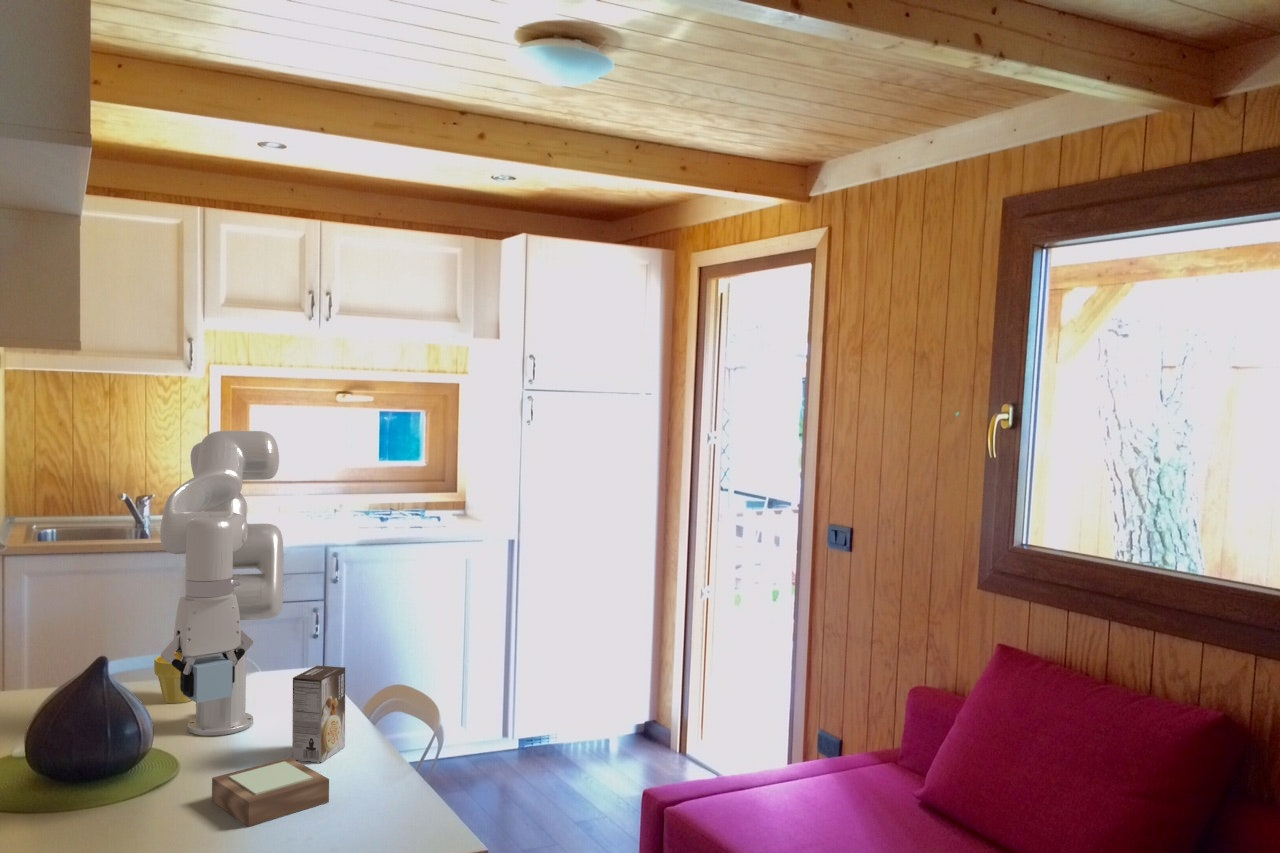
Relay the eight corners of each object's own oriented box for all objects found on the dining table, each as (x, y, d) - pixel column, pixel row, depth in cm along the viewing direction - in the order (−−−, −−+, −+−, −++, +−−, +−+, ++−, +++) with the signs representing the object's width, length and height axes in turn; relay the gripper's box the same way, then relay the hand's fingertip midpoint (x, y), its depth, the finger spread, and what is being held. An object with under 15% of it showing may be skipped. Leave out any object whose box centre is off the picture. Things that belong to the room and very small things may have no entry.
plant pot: (152, 708, 214) (152, 664, 214) (155, 695, 223) (155, 652, 223) (204, 703, 218) (204, 660, 218) (205, 690, 228) (205, 649, 227)
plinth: (211, 800, 166) (212, 775, 166) (289, 779, 177) (290, 755, 176) (248, 826, 157) (249, 800, 157) (328, 802, 167) (329, 777, 167)
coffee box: (316, 744, 194) (317, 664, 194) (345, 747, 193) (346, 666, 193) (290, 760, 185) (291, 676, 185) (321, 764, 184) (322, 679, 184)
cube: (183, 695, 170) (183, 660, 170) (218, 688, 174) (218, 655, 174) (196, 703, 166) (197, 667, 166) (232, 696, 170) (232, 661, 170)
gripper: (248, 579, 178) (247, 678, 179) (148, 591, 166) (147, 696, 166) (266, 585, 173) (265, 686, 173) (164, 598, 161) (163, 706, 161)
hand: (207, 690), depth 170 cm, fingers closed on cube, 6 cm apart
